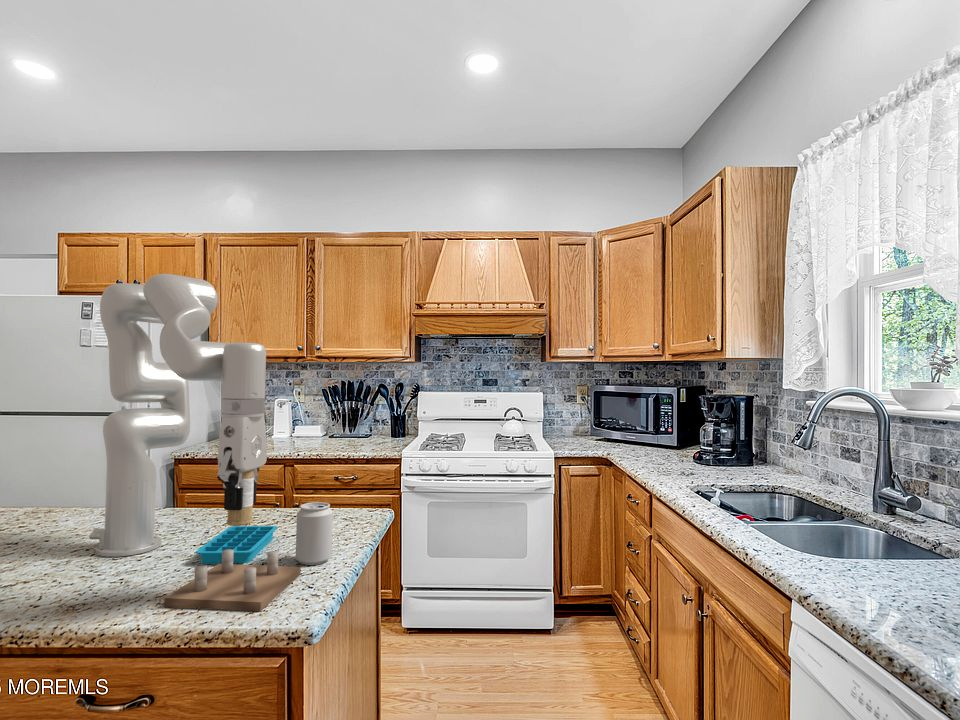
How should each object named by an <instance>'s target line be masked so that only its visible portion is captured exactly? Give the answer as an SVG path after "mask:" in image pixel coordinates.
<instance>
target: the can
mask: <svg viewBox="0 0 960 720" xmlns="http://www.w3.org/2000/svg"><path fill="white" fill-rule="evenodd" d="M330 506H331V504H330V503H329V502H321V501H315V502H306V503H302V504H301V505H300V506H299V508H300V509H299V510H298V512H297V513H296V528H295V529H296V530H295V531H296V532H295V535H296V537H295V560H296V561H298V563H300V564H301V565H304V564H305V565H306V566H315V565H316V566H317V565H320V564H324V563H326V562H328V561H329V559H330V558H331V557H332V555H333V529H334V528H333V527H334V526H333V525H334V524H333V523H334V511H333V510H332V509H331V507H330ZM305 565H304V566H305Z"/></svg>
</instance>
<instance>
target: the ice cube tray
mask: <svg viewBox="0 0 960 720" xmlns="http://www.w3.org/2000/svg"><path fill="white" fill-rule="evenodd" d="M277 529H278V526H277V525H242V526H228V527H226V528H225V529H224V530H223V531H221V532H220V533H219V534H217V535H216V536H214V537H213V538H212V539H210V540H209V541H207V543H205V544H204V545H202V546H200V548H198V549H197V550H196V551H195V554H196V555H200V563H201V565H218V564H222V551H224V550H227V549H232V550H234V555H233V563H235V565H237V564H236V563H245V564H248V563H250V562H252V560H254V558H255V557H256V556H257V555H258V554H260V552H262V550H264V548H266V547H267V546H268V544H269V543H271V542H272V540H273V539H274V537H273V536H274V532H275V531H277Z"/></svg>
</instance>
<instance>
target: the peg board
mask: <svg viewBox="0 0 960 720" xmlns="http://www.w3.org/2000/svg"><path fill="white" fill-rule="evenodd" d="M233 555H234V550H232V549H227V550H224V551H222V564H215V566H212V567H211V568H210V569H208V568H209V567H208V564H201V565H196V566H195V567H194V579H192V580H190V581H189V582H187V583H186V584H184V585H183V586H181V587H180V588H178V589H176V590H175V591H173V592H172V593H169V594H168V595H167V596H165V597H164V600H163V606H164V608H180V609H181V608H183V609H184V608H186V609H203V610H223V611H224V610H226V611H227V610H228V611H249V612H261V611H263V609H265V608H266V607H267V606H268V605H269V604H270V603H271V602H273V600H275V599H276V598H277V597H278V596H279V595H280V594H281V593H282V592H283V591H285V589H286V588H287V587H289V586H290V585H291V584H292V583H293V582H294V581H295V580H297V579H298V577H300V576H301V575H302V573H301V570H302V567H301V566H283V565H282V566H279V550H278V551H277V550H272V551H268V552H267V556H266V557H267V558H266V565H258V564H257V565H256V564H255V565H253V564H233Z"/></svg>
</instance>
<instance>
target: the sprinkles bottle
mask: <svg viewBox="0 0 960 720" xmlns="http://www.w3.org/2000/svg"><path fill="white" fill-rule="evenodd" d="M231 470H238V469H236V468H235V467H231ZM231 475H233V476H234V477H235V479H236V474H231ZM240 488H243V506H242V509H241V510H227V519H226V525H227V526H229V527H232V526H248V525H250V524H251V523H253V522H254V518H253V506H254V504H253V491H254V469H252V470H249V471H246V472H243V474H242V481H241V487H240Z"/></svg>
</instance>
